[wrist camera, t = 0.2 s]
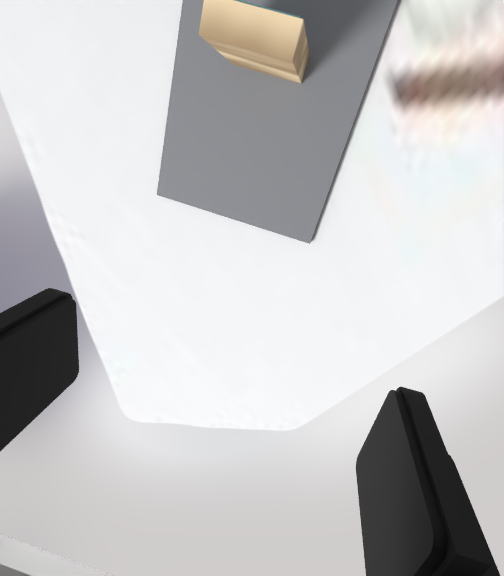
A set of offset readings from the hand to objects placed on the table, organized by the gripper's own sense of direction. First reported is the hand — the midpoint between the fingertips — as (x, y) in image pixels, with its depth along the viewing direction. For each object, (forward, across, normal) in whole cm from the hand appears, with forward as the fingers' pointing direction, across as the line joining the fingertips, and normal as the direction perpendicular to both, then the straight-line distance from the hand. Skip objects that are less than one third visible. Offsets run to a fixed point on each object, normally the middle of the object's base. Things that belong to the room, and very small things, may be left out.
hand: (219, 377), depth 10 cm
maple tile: (+30, +6, -13) cm, 33 cm away
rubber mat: (+31, +6, -9) cm, 32 cm away
